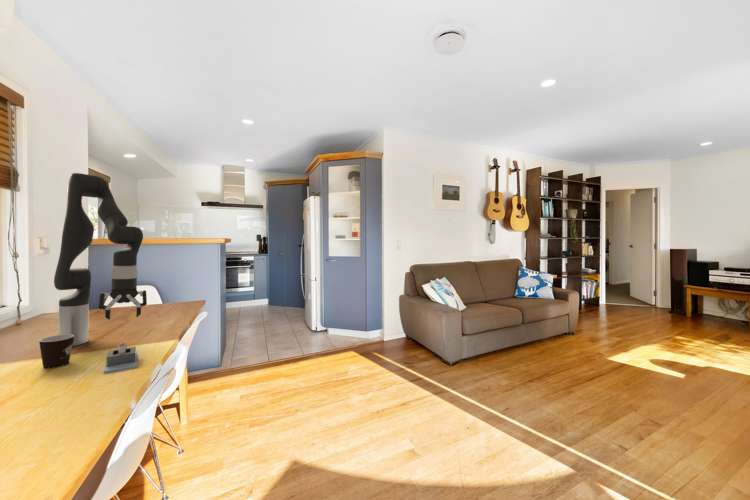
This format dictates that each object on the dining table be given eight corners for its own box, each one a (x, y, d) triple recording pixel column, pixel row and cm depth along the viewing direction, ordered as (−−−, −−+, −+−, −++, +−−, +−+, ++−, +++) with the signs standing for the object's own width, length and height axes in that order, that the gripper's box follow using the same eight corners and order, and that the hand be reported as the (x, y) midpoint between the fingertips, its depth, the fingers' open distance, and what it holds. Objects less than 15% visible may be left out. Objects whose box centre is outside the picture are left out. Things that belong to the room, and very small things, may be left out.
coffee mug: (50, 371, 102) (50, 342, 102) (31, 368, 104) (32, 340, 104) (88, 358, 114) (89, 333, 114) (71, 356, 115) (72, 331, 115)
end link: (109, 354, 116) (109, 346, 116) (135, 350, 121) (135, 342, 121) (106, 366, 106) (106, 357, 105) (135, 361, 111) (135, 352, 110)
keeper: (107, 358, 114) (107, 339, 114) (137, 354, 120) (137, 335, 120) (103, 373, 102) (103, 351, 102) (136, 367, 107) (137, 346, 107)
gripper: (147, 275, 122) (146, 313, 123) (100, 276, 114) (99, 317, 114) (147, 277, 117) (146, 317, 117) (98, 278, 108) (97, 322, 108)
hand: (123, 317), depth 115 cm, fingers open, 8 cm apart
